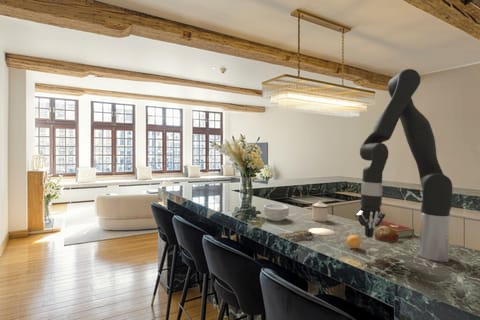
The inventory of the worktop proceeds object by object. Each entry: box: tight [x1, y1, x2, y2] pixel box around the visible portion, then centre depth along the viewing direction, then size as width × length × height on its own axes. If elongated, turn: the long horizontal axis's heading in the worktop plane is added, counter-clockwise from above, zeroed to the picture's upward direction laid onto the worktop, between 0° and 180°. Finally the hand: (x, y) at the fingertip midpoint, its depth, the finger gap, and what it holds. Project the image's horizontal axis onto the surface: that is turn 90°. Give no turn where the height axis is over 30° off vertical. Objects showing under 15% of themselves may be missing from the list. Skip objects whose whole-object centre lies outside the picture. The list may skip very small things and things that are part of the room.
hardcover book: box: [374, 219, 415, 238], centre depth 148 cm, size 12×21×4 cm, turn 23°
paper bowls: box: [263, 203, 290, 222], centre depth 171 cm, size 15×15×8 cm
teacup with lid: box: [311, 200, 329, 223], centre depth 171 cm, size 12×9×12 cm
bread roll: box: [373, 226, 400, 243], centre depth 135 cm, size 10×10×8 cm
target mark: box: [308, 227, 336, 236], centre depth 145 cm, size 13×13×1 cm
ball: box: [346, 234, 362, 250], centre depth 120 cm, size 6×6×6 cm
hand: (369, 236), depth 112 cm, fingers closed
